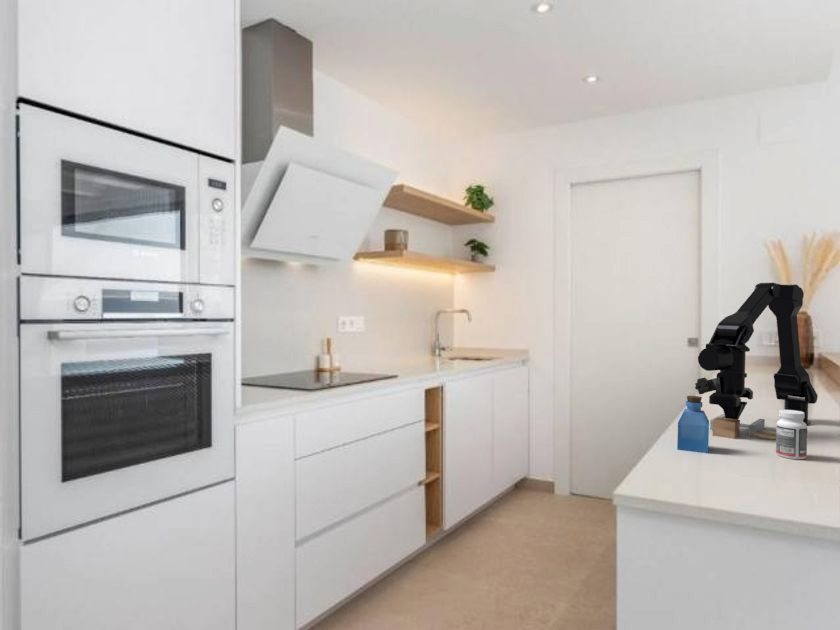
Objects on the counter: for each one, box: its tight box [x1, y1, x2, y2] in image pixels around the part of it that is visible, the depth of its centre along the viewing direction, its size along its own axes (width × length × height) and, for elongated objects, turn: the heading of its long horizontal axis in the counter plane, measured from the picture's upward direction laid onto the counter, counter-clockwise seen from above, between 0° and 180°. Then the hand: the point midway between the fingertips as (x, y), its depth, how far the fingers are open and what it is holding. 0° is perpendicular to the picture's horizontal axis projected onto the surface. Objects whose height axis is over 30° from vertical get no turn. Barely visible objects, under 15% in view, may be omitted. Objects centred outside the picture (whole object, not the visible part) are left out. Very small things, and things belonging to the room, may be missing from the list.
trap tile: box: [740, 422, 750, 429], centre depth 160 cm, size 3×7×1 cm, turn 49°
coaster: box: [750, 429, 776, 441], centre depth 148 cm, size 8×8×1 cm
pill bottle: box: [775, 409, 808, 460], centre depth 128 cm, size 6×6×10 cm
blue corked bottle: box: [676, 395, 710, 454], centre depth 134 cm, size 6×6×12 cm
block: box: [712, 417, 741, 440], centre depth 148 cm, size 5×5×4 cm
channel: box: [709, 413, 766, 436], centre depth 156 cm, size 12×10×2 cm
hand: (730, 428), depth 151 cm, fingers closed
